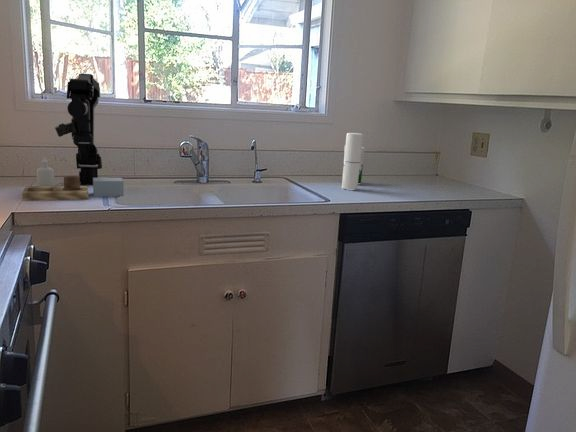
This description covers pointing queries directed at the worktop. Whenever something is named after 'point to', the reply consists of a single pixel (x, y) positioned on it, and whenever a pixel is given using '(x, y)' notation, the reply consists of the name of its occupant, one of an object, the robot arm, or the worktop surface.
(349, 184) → the cylindrical container
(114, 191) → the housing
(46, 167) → the eye dropper bottle
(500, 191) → the worktop surface
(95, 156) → the robot arm
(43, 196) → the socket board
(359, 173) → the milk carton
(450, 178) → the worktop surface
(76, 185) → the walnut peg
